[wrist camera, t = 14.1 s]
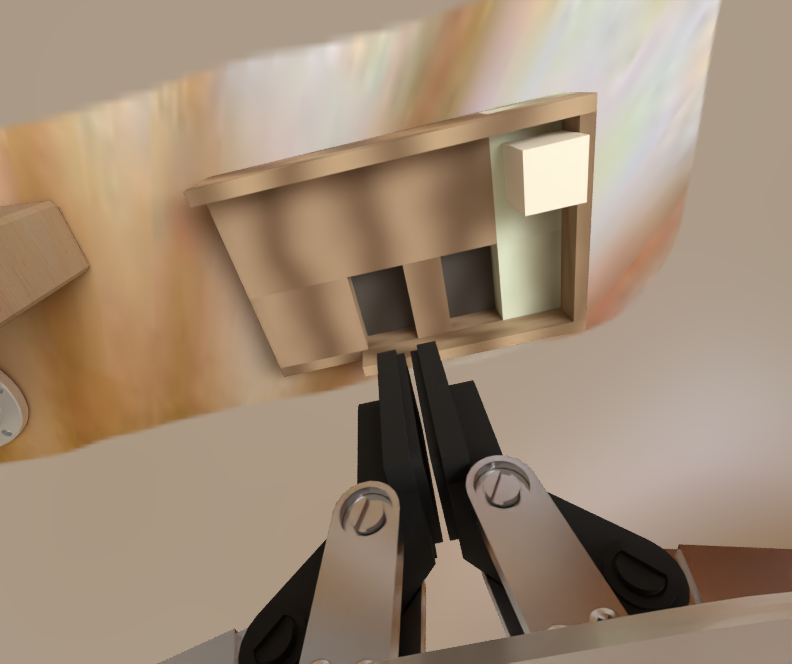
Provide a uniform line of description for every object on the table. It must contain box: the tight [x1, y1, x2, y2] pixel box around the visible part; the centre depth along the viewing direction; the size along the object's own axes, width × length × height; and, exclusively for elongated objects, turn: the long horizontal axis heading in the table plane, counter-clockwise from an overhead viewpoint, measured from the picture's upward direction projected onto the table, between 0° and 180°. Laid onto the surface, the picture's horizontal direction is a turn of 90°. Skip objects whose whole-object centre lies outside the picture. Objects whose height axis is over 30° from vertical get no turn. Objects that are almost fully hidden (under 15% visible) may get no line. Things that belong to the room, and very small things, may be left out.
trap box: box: [183, 92, 597, 377], centre depth 31 cm, size 26×17×5 cm, turn 102°
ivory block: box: [503, 129, 590, 216], centre depth 26 cm, size 4×4×4 cm
